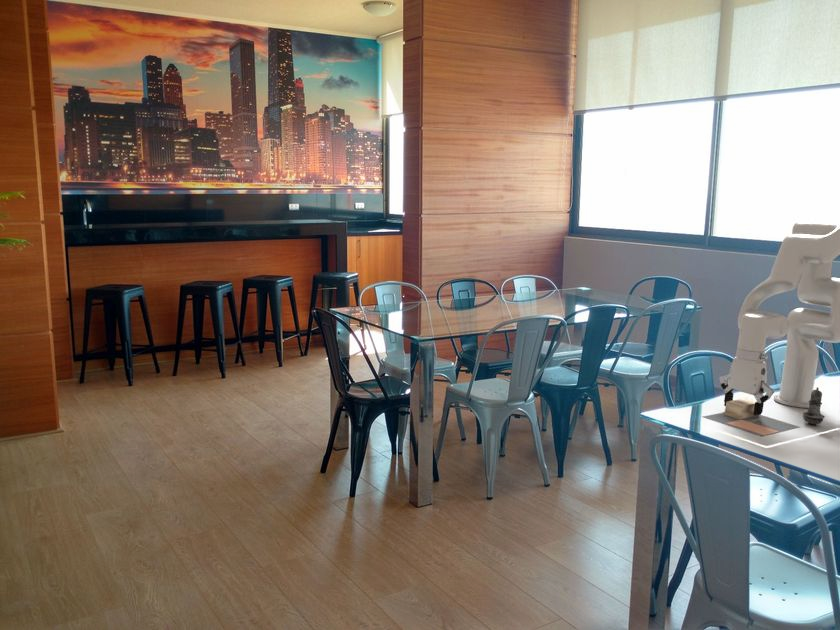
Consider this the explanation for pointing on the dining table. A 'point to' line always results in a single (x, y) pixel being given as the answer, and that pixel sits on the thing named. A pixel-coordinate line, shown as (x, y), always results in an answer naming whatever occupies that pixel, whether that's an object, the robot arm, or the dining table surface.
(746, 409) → the light wood block
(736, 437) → the dining table surface
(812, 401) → the dark grey tower figurine
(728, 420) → the mat
